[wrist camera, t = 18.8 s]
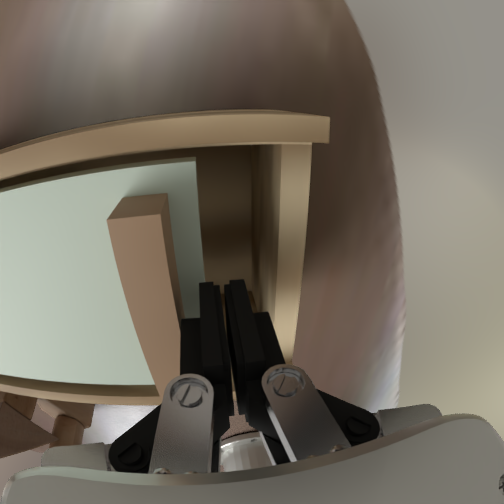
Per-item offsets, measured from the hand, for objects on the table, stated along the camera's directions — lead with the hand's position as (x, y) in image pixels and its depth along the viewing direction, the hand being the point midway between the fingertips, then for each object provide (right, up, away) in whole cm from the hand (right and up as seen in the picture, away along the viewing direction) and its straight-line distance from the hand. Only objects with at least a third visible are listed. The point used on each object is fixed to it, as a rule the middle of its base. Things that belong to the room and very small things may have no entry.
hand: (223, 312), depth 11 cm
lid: (-11, 0, 0) cm, 11 cm away
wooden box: (-9, +4, +8) cm, 12 cm away
